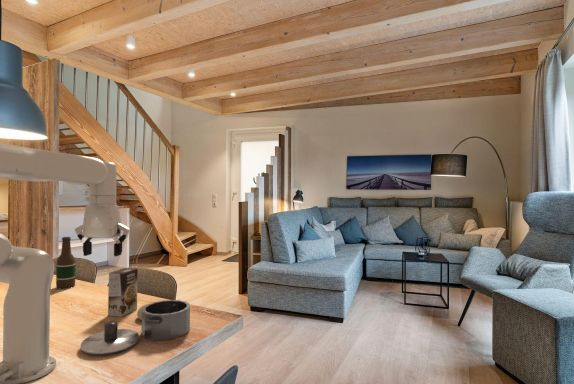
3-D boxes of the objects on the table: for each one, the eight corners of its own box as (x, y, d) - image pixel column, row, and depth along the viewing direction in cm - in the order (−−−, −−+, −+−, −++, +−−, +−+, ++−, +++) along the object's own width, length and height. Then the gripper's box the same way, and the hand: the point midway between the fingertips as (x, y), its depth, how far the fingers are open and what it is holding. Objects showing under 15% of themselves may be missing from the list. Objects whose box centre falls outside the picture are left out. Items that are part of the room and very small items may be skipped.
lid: (120, 359, 95) (121, 335, 95) (67, 356, 97) (68, 332, 97) (147, 336, 111) (148, 315, 111) (102, 333, 112) (102, 312, 112)
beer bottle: (57, 285, 166) (58, 236, 166) (76, 284, 170) (76, 235, 170) (54, 290, 159) (55, 238, 159) (74, 288, 163) (74, 237, 163)
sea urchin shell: (154, 306, 134) (162, 294, 130) (161, 324, 130) (170, 312, 126) (131, 312, 127) (139, 300, 123) (138, 331, 123) (146, 319, 119)
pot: (176, 344, 104) (176, 318, 104) (128, 342, 106) (129, 316, 106) (198, 321, 124) (198, 298, 124) (157, 319, 125) (158, 297, 125)
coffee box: (122, 317, 127) (123, 273, 127) (107, 315, 128) (107, 272, 128) (137, 309, 135) (138, 268, 135) (123, 307, 137) (124, 267, 137)
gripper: (68, 201, 104) (67, 257, 104) (123, 201, 104) (123, 258, 104) (83, 200, 112) (83, 252, 112) (135, 200, 111) (135, 253, 111)
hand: (102, 255), depth 108 cm, fingers open, 9 cm apart
